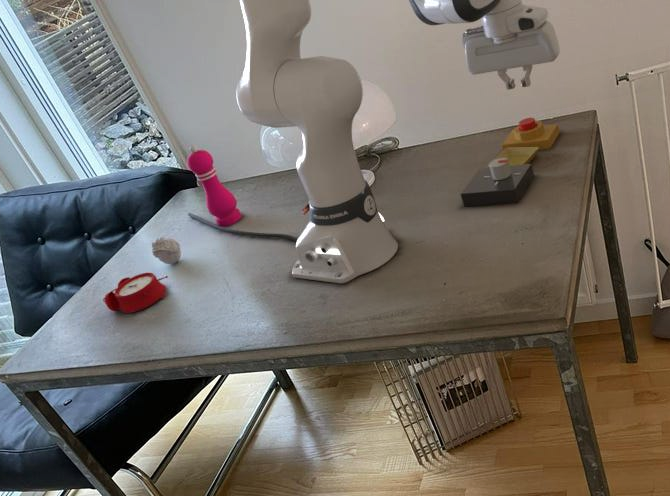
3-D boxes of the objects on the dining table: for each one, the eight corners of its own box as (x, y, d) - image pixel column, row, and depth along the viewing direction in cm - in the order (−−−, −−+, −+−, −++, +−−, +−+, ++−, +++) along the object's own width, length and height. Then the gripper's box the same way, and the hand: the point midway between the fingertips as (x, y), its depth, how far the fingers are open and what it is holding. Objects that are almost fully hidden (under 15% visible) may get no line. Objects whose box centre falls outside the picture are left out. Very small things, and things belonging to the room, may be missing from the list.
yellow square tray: (523, 174, 158) (521, 165, 157) (489, 174, 163) (486, 165, 162) (541, 155, 163) (539, 146, 162) (508, 156, 168) (506, 147, 167)
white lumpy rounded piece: (157, 273, 173) (141, 247, 169) (167, 258, 178) (153, 233, 174) (180, 267, 171) (165, 241, 167) (190, 252, 177) (176, 227, 173)
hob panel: (464, 206, 154) (459, 193, 152) (482, 181, 161) (478, 168, 160) (518, 202, 148) (514, 188, 147) (534, 176, 156) (531, 162, 154)
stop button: (518, 132, 168) (516, 125, 167) (523, 126, 170) (521, 118, 169) (533, 131, 166) (531, 123, 165) (538, 124, 168) (536, 116, 167)
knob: (490, 181, 153) (486, 166, 151) (495, 172, 156) (492, 157, 154) (508, 179, 151) (504, 164, 149) (513, 170, 154) (510, 155, 152)
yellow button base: (503, 153, 170) (499, 137, 168) (514, 138, 175) (511, 122, 173) (549, 148, 165) (546, 131, 163) (559, 133, 170) (556, 116, 168)
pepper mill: (242, 210, 189) (206, 135, 178) (244, 220, 184) (207, 143, 172) (215, 221, 189) (177, 147, 177) (217, 231, 183) (177, 155, 171)
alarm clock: (145, 297, 155) (83, 290, 158) (154, 321, 159) (94, 314, 162) (171, 269, 162) (111, 263, 166) (179, 293, 166) (121, 287, 170)
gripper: (453, 35, 157) (470, 99, 165) (545, 17, 148) (559, 86, 156) (464, 25, 161) (480, 88, 169) (554, 7, 152) (567, 74, 160)
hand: (519, 87), depth 163 cm, fingers closed
